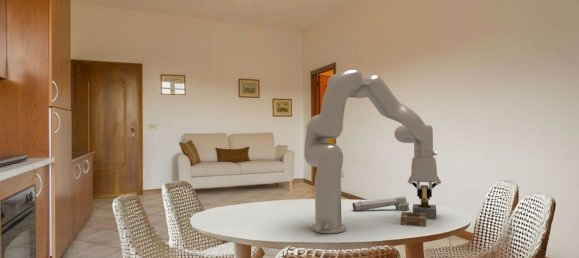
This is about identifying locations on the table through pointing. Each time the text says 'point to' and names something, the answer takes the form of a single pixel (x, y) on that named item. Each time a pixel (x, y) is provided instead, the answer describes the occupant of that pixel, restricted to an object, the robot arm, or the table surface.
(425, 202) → the brass pin
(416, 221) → the walnut mount
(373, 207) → the light grey piece
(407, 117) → the robot arm
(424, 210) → the charcoal dock
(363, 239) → the table surface
